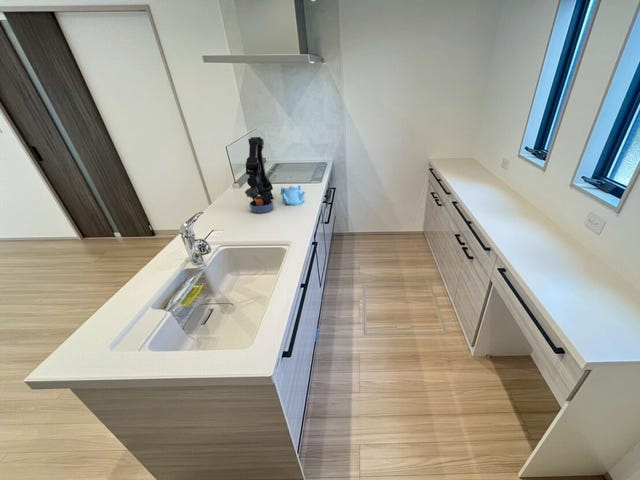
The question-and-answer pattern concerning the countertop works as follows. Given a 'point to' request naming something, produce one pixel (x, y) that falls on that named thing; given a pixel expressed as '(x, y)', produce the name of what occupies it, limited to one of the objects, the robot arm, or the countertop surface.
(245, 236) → the countertop surface
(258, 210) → the bowl
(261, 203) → the cup
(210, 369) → the countertop surface
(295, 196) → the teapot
